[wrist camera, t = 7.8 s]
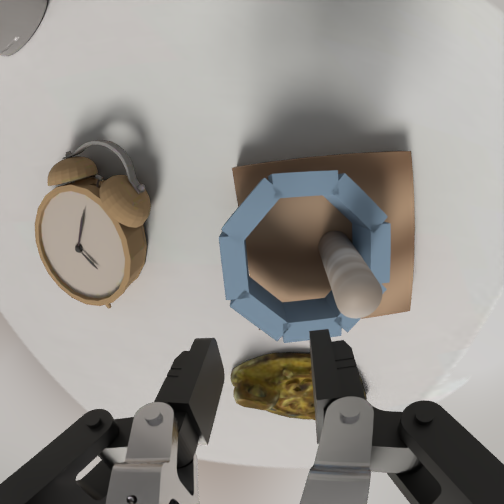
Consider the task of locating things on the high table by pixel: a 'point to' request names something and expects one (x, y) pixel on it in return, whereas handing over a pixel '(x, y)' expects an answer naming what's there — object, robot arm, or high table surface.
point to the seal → (277, 384)
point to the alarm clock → (93, 228)
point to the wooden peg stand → (333, 235)
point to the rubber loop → (313, 310)
